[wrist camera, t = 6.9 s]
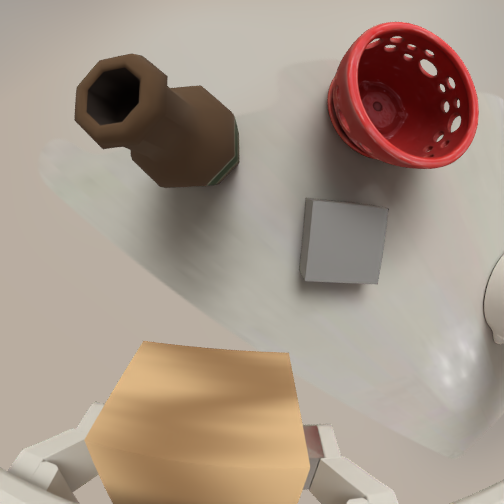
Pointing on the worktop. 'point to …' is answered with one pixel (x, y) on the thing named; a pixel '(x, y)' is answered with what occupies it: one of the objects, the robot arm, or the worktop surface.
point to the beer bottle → (158, 122)
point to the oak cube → (201, 429)
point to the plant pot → (403, 98)
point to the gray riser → (342, 241)
